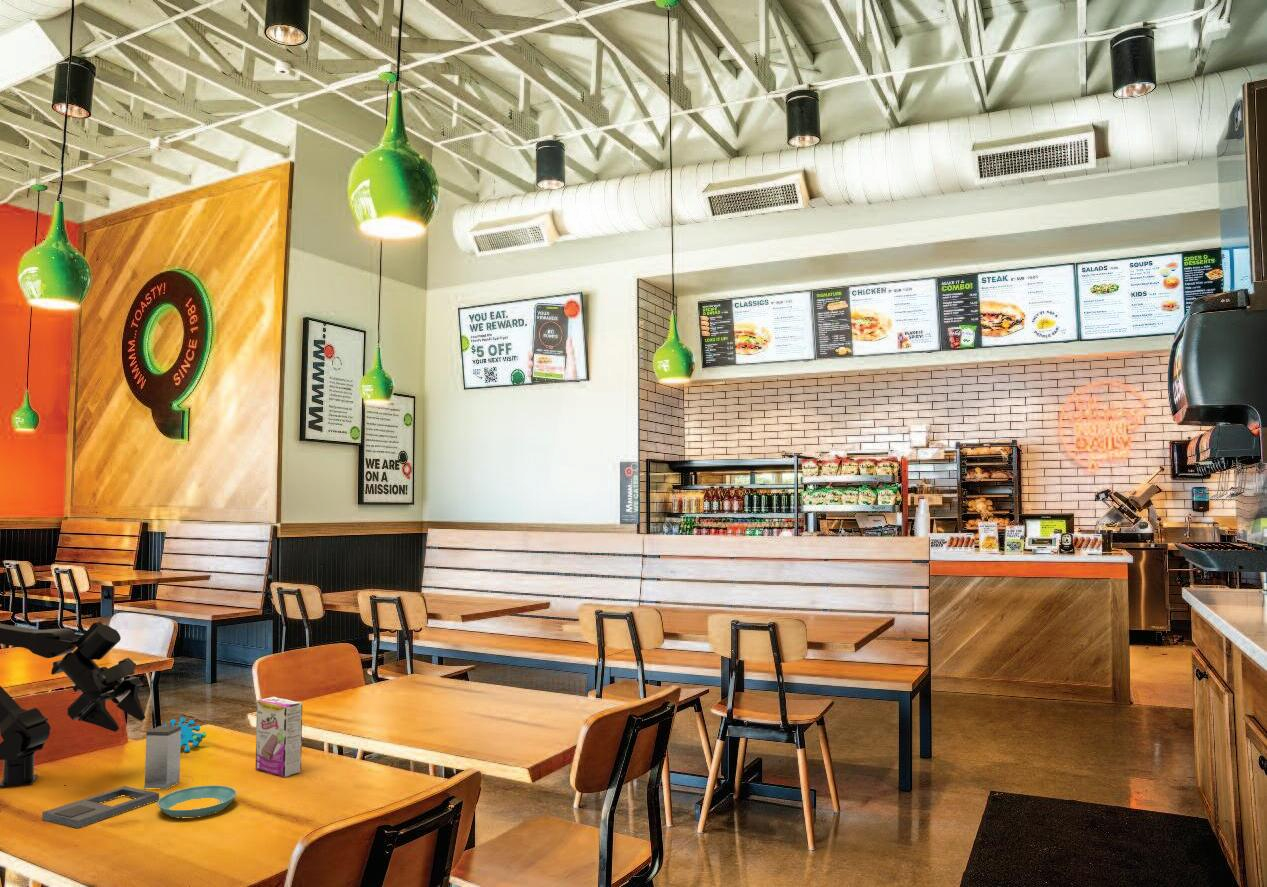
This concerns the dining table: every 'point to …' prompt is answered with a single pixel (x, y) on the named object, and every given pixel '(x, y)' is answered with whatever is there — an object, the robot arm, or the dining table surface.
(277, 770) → the candy bar box
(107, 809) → the grey slotted plate
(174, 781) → the grey tall block
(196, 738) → the gear
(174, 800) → the saucer
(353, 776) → the dining table surface
